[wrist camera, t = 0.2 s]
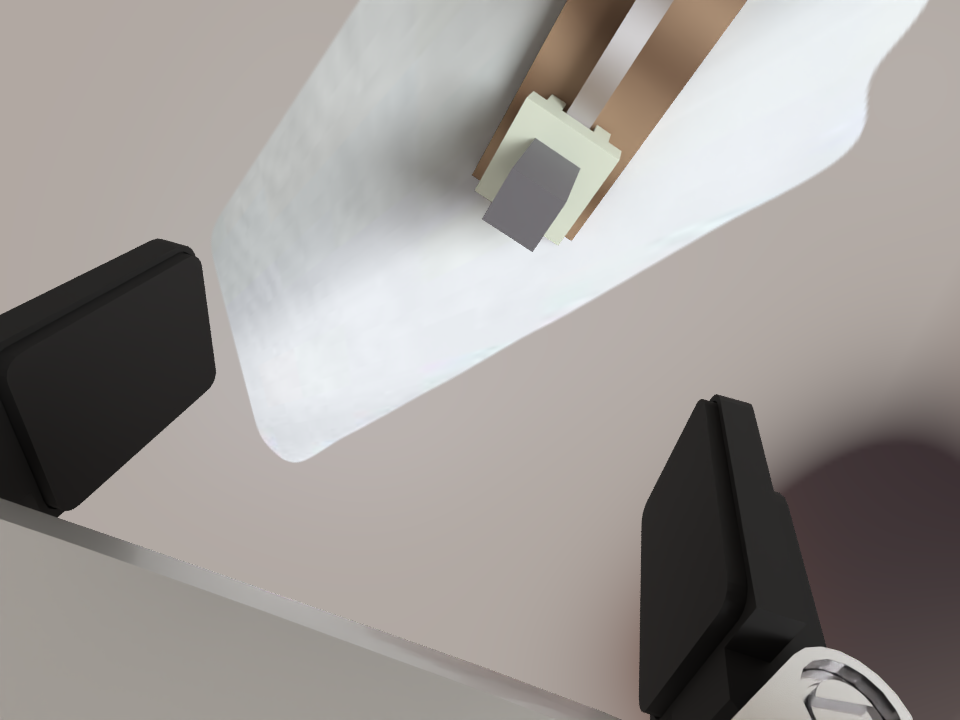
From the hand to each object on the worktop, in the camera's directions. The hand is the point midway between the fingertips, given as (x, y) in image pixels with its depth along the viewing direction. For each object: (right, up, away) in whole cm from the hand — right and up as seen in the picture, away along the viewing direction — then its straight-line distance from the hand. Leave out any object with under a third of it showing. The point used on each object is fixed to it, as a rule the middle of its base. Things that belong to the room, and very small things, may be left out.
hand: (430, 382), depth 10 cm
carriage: (+6, +13, +25) cm, 29 cm away
